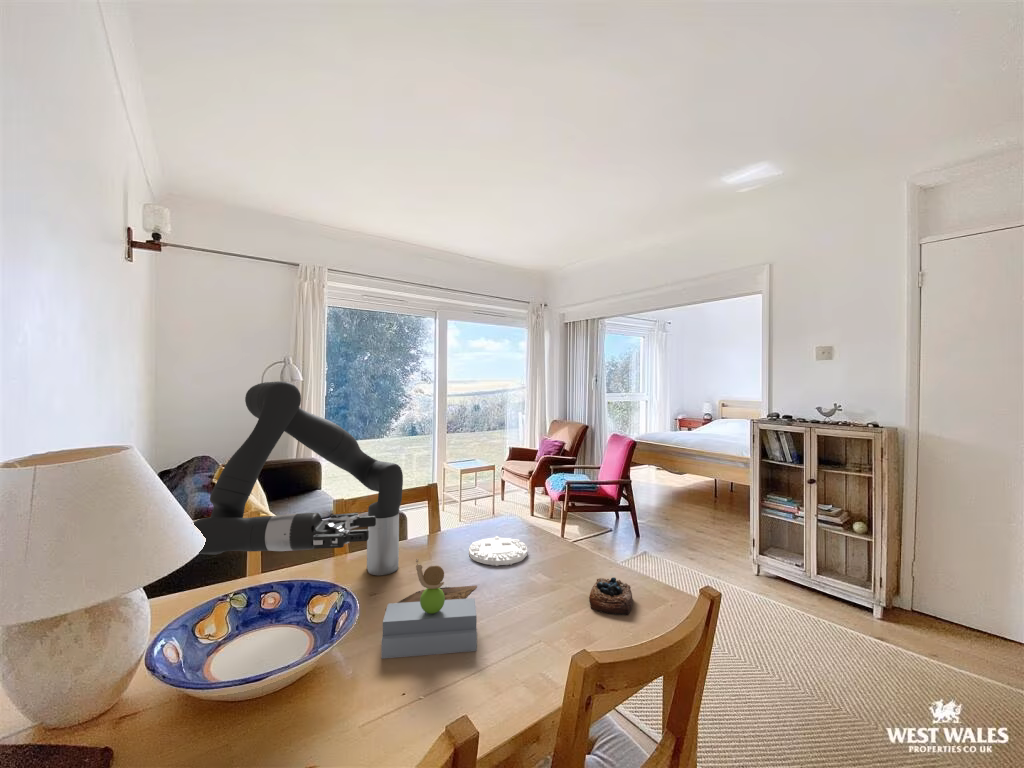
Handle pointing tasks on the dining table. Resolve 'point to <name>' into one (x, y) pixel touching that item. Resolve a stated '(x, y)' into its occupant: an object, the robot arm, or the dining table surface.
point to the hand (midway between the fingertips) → (372, 527)
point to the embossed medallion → (498, 551)
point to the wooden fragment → (448, 592)
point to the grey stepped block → (429, 629)
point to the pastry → (611, 597)
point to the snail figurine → (431, 588)
